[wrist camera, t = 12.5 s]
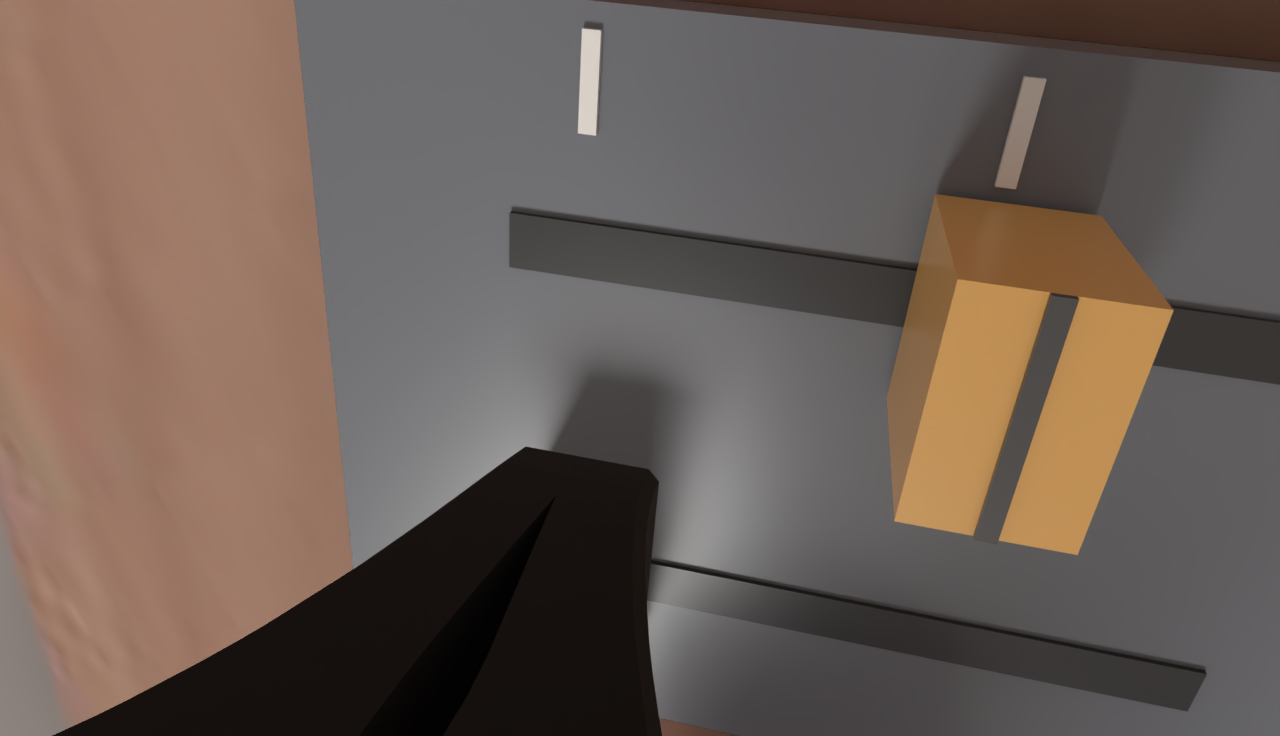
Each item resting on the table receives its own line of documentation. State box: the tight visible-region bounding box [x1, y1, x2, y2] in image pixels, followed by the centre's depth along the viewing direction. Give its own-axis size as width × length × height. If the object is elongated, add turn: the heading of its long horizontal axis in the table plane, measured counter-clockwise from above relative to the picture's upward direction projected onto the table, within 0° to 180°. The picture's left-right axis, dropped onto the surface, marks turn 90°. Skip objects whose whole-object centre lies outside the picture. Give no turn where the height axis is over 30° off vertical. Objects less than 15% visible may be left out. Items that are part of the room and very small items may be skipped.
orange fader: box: [887, 194, 1174, 555], centre depth 13 cm, size 4×2×4 cm, turn 176°
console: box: [294, 0, 1280, 736], centre depth 17 cm, size 15×20×1 cm
